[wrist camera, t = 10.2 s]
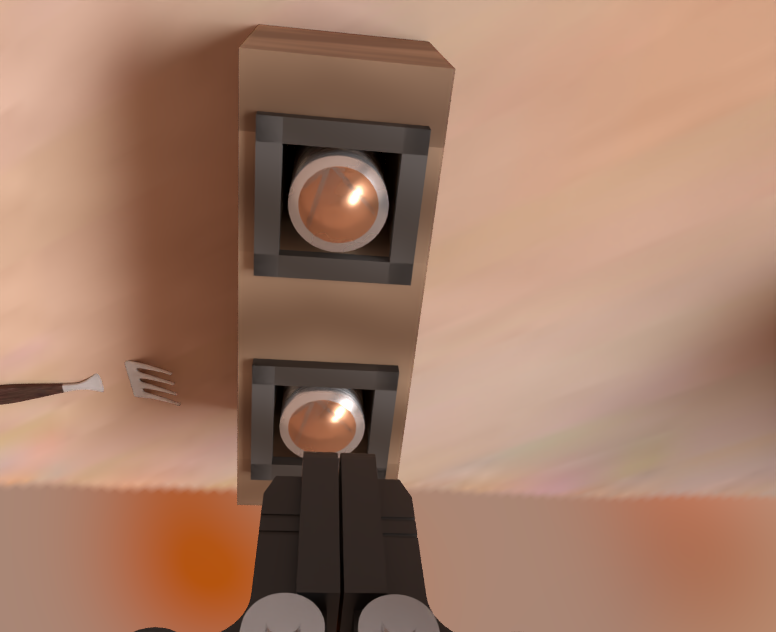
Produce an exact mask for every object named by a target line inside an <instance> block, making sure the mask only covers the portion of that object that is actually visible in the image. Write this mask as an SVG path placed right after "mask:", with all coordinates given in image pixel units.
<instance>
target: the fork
mask: <svg viewBox="0 0 776 632" xmlns="http://www.w3.org/2000/svg"><path fill="white" fill-rule="evenodd" d="M125 367H126V370H127V374H128V377H129V380H130V383H131V387H132V390H133V393H134V396H135V397H142V398H150V399H155V400H160V401H164V402H168V403H172V404H175V405H178V406H180V405H181V404H180V403H178V402H175V401H173V400H170V399H167V398H164V397H161V396H158V395H154V394H151V393H148V392H145V391H144V390H143V389H144V388H146V389H152V390H157V391H161V392H165V393H169V394H173V395H178V393H176V392H173V391H170V390H167V389H164V388H161V387H158V386H155V385H151V384H148V383H145V382H142V381H141V380H140V378H143V379H149V380H154V381H159V382H163V383H167V384H171V385H175V383H173V382H171V381H168V380H165V379H162V378H159V377H156V376H152V375H149V374H145V373H142V372H139V371H138V370H137V368H142V369H148V370H153V371H157V372H162V373H166V374H169V375H172V372H169V371H166V370H163V369H160V368H157V367H154V366H150V365H147V364H143V363H139V362H134V361H126V362H125ZM73 390H94V391H100V392H104V387H103V383H102V380H101V378H100V376H99V375H98V374H94V375H93V376H91V377H90V378H88V379H86V380H85V381H82V382H79V383H71V384H10V385H0V405H1V404H9V403H15V402H21V401H26V400H30V399H35V398H40V397H44V396H49V395H53V394H58V393H63V392H68V391H73Z"/></svg>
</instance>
